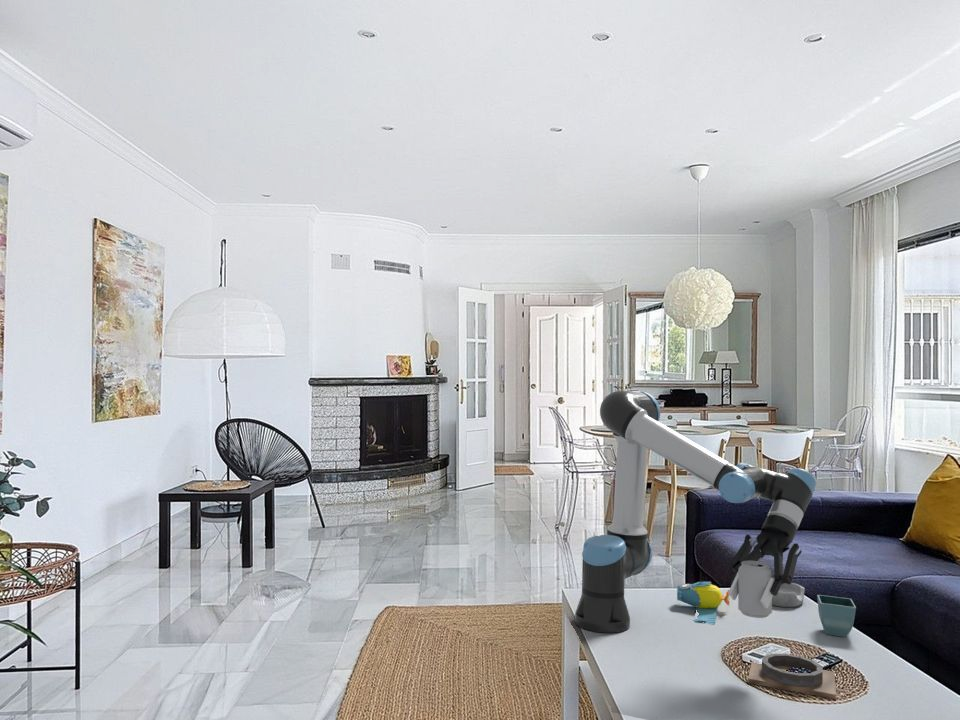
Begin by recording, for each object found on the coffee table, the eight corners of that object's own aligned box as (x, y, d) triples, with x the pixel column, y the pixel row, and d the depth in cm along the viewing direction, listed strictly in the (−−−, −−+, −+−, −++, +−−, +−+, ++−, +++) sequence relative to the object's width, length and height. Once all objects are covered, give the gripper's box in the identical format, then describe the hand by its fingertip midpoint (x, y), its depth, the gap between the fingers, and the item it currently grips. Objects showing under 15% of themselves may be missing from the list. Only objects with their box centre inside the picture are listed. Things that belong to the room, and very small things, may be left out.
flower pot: (851, 630, 206) (851, 598, 206) (855, 641, 198) (856, 607, 198) (816, 626, 209) (817, 594, 209) (819, 636, 200) (820, 603, 201)
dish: (804, 599, 235) (805, 583, 235) (804, 611, 222) (804, 594, 222) (756, 592, 241) (756, 577, 241) (753, 604, 228) (753, 588, 228)
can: (774, 620, 171) (774, 567, 171) (740, 617, 172) (740, 565, 173) (768, 610, 178) (769, 560, 178) (736, 608, 180) (736, 558, 180)
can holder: (747, 682, 168) (748, 667, 168) (752, 661, 181) (752, 647, 181) (835, 699, 161) (836, 683, 161) (834, 676, 174) (834, 661, 174)
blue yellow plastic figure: (727, 597, 206) (671, 591, 212) (727, 628, 206) (671, 621, 212) (732, 572, 232) (682, 567, 238) (732, 600, 232) (682, 595, 238)
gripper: (828, 539, 178) (795, 620, 167) (749, 526, 193) (715, 599, 182) (817, 519, 175) (783, 601, 164) (738, 507, 190) (702, 581, 179)
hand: (747, 600), depth 173 cm, fingers closed on can, 7 cm apart
